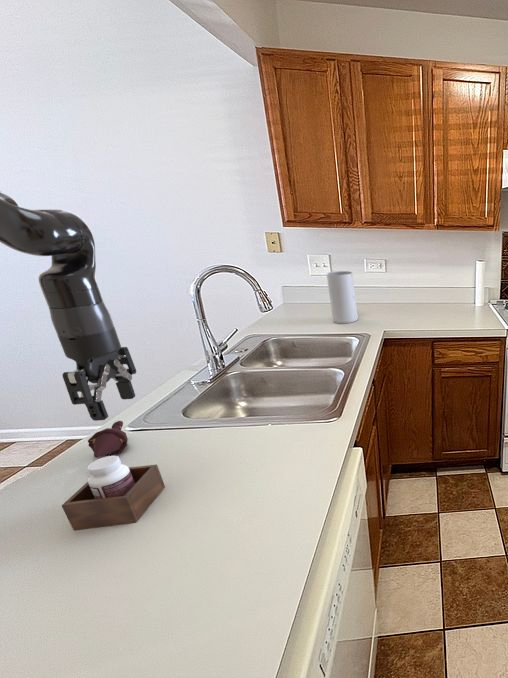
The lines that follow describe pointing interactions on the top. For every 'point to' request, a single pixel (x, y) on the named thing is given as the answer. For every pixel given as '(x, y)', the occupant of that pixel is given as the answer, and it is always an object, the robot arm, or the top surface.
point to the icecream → (109, 441)
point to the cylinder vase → (342, 296)
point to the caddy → (115, 501)
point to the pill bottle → (109, 478)
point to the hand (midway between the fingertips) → (115, 408)
